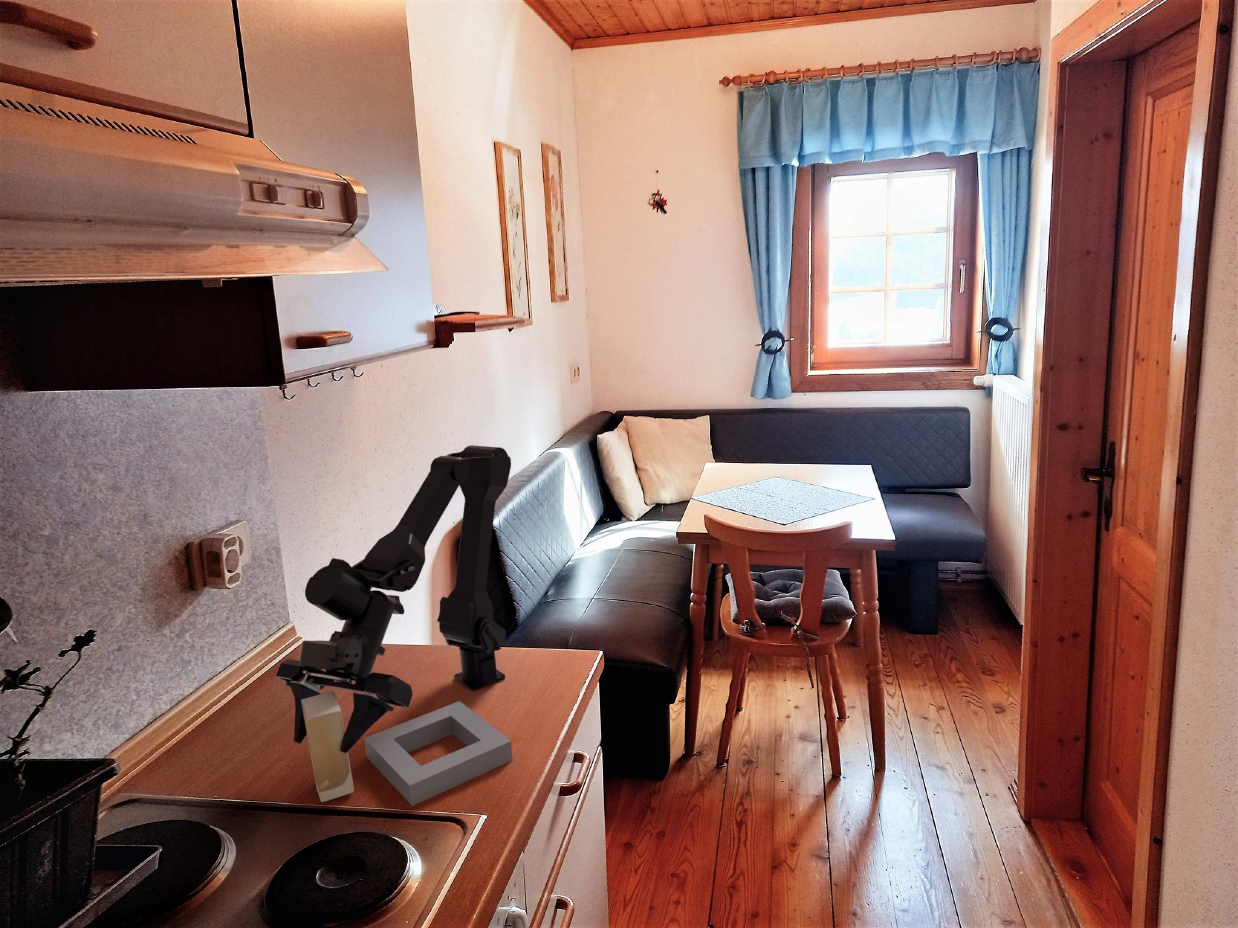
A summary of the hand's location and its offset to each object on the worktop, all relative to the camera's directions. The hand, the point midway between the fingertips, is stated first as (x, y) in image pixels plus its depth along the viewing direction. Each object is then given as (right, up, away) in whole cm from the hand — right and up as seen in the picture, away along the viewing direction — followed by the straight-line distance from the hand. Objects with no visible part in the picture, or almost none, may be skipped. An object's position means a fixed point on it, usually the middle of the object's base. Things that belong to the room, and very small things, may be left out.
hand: (319, 747), depth 108 cm
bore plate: (+14, -5, +9) cm, 17 cm away
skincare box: (+1, -6, +3) cm, 7 cm away
